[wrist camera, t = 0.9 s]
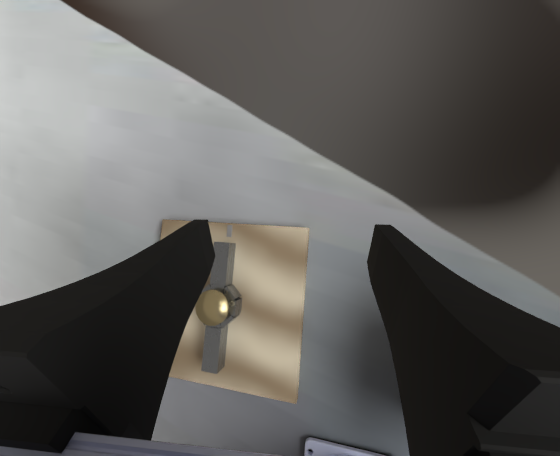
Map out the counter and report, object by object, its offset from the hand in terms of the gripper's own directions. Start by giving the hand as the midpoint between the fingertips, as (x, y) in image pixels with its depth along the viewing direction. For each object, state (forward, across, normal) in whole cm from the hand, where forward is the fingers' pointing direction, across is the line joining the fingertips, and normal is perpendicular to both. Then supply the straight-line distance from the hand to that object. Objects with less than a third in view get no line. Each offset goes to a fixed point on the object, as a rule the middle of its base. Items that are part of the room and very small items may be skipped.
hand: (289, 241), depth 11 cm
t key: (+7, +7, +13) cm, 17 cm away
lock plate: (+8, +7, +14) cm, 18 cm away
